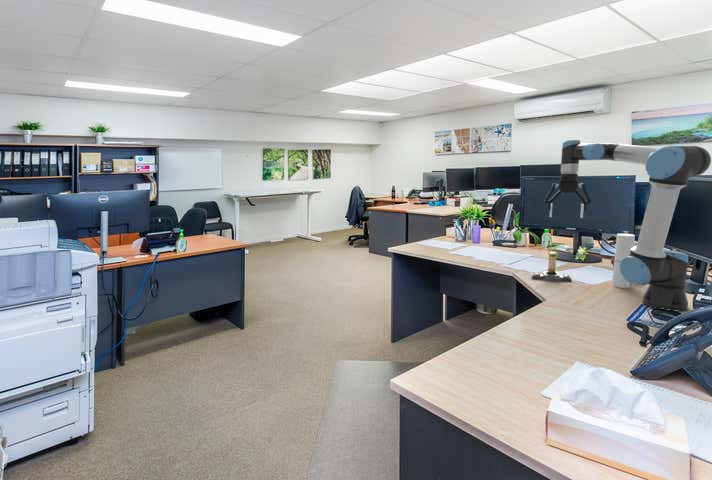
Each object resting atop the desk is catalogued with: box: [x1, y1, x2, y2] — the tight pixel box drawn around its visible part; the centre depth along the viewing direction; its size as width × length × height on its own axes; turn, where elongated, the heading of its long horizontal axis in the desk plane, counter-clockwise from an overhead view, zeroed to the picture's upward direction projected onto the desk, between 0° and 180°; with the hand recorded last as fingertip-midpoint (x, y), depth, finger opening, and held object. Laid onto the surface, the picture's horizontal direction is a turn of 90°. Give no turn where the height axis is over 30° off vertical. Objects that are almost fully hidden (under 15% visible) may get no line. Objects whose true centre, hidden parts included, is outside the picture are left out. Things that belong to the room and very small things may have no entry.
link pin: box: [547, 251, 558, 275], centre depth 212 cm, size 4×4×14 cm
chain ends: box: [531, 270, 572, 283], centre depth 213 cm, size 18×7×3 cm, turn 70°
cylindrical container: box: [611, 233, 636, 289], centre depth 197 cm, size 7×7×25 cm
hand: (565, 217), depth 201 cm, fingers open, 13 cm apart
